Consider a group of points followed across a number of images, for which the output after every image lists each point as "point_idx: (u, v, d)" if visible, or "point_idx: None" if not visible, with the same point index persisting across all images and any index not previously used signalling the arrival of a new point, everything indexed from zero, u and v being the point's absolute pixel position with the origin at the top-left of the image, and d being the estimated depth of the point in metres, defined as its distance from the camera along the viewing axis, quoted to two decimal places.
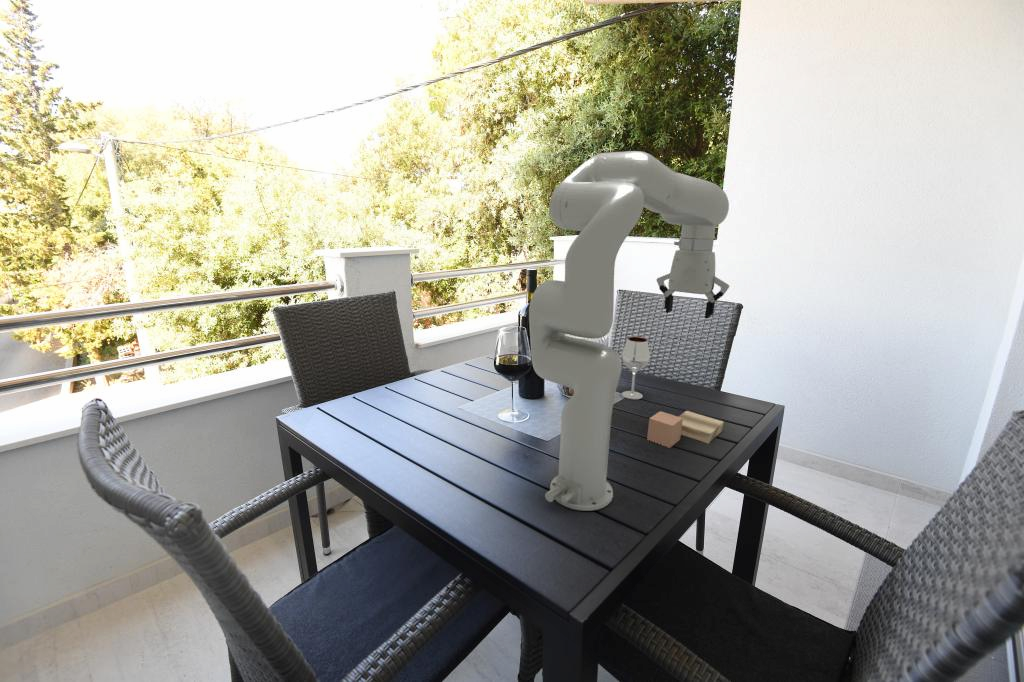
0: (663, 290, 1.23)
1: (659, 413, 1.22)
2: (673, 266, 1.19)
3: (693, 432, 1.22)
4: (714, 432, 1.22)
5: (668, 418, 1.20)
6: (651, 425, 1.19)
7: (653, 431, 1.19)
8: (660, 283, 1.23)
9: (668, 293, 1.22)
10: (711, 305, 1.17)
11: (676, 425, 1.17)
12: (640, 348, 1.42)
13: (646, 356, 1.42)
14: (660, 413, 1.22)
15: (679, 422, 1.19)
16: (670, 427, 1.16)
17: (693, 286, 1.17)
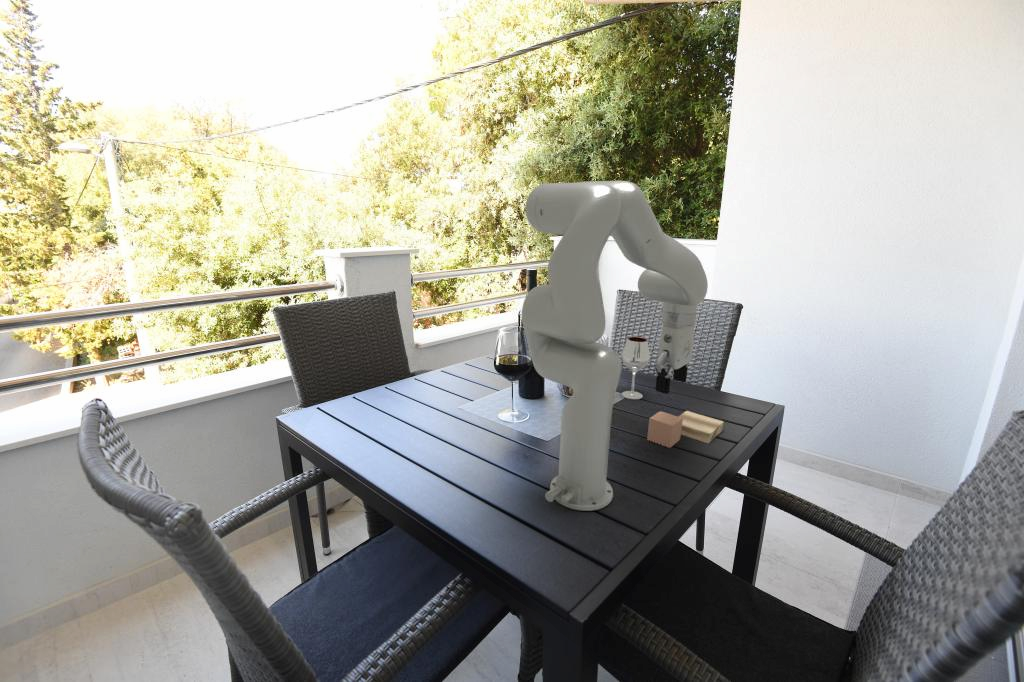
0: (664, 372, 1.11)
1: (659, 413, 1.22)
2: (679, 345, 1.10)
3: (693, 432, 1.22)
4: (714, 432, 1.22)
5: (668, 418, 1.20)
6: (651, 425, 1.19)
7: (653, 431, 1.19)
8: (662, 366, 1.10)
9: (669, 373, 1.12)
10: None
11: (676, 425, 1.17)
12: (640, 348, 1.42)
13: (646, 356, 1.42)
14: (660, 413, 1.22)
15: (679, 422, 1.19)
16: (670, 427, 1.16)
17: (687, 358, 1.15)
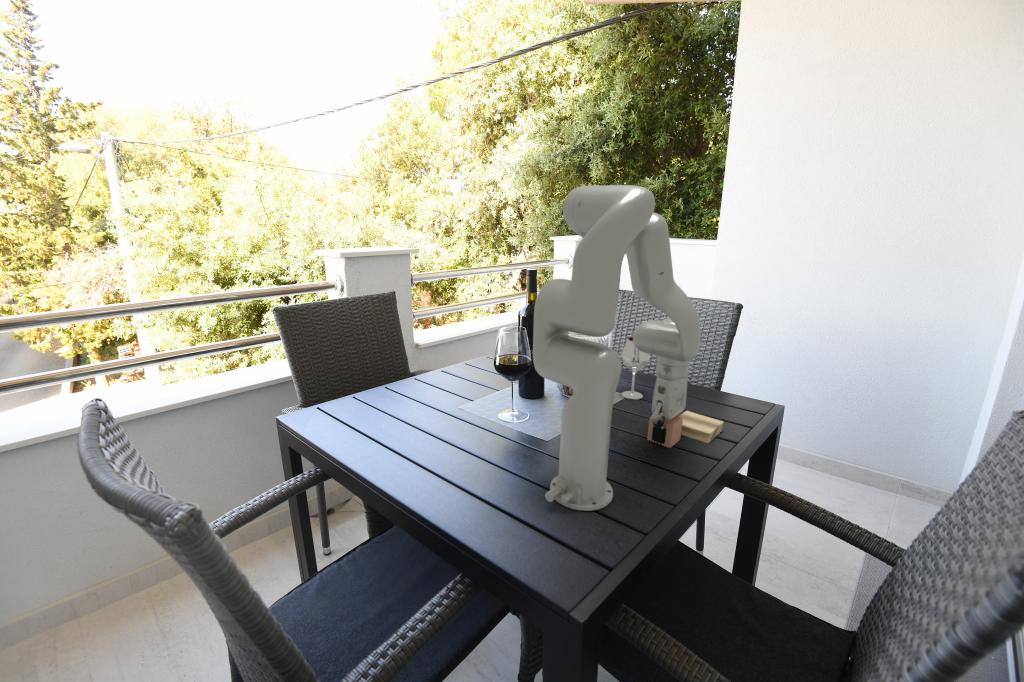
0: (660, 424, 1.15)
1: None
2: (672, 396, 1.13)
3: (693, 432, 1.22)
4: (714, 432, 1.22)
5: None
6: (651, 425, 1.19)
7: None
8: (657, 420, 1.14)
9: (664, 424, 1.16)
10: None
11: (676, 425, 1.17)
12: None
13: (646, 356, 1.42)
14: (660, 413, 1.22)
15: (680, 422, 1.19)
16: (670, 427, 1.16)
17: (680, 407, 1.18)
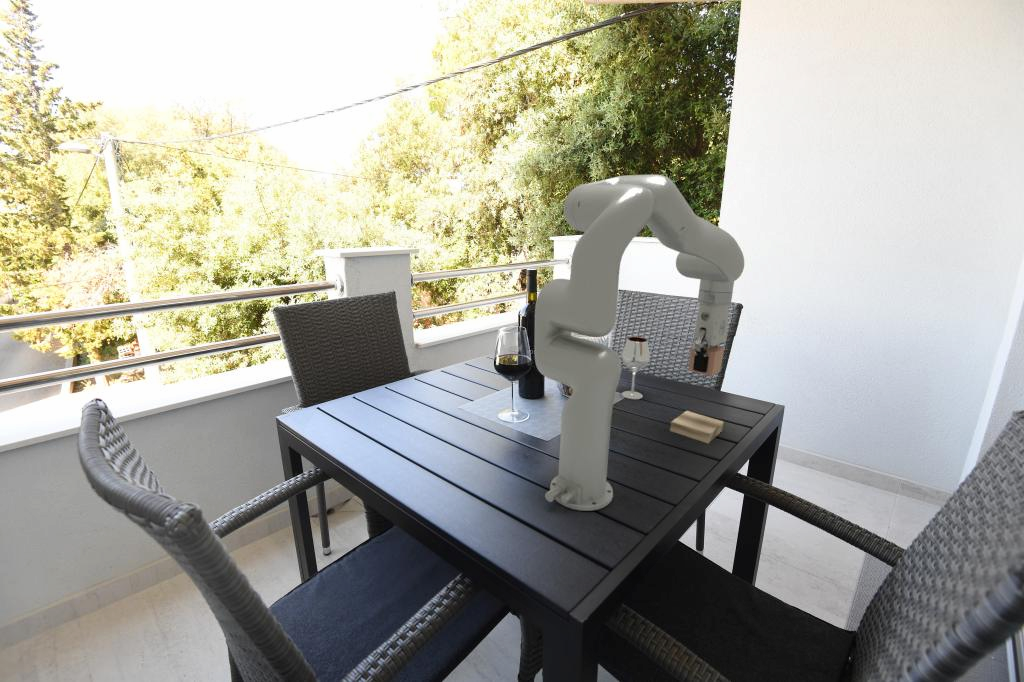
0: (703, 351, 1.16)
1: None
2: (716, 322, 1.14)
3: (692, 432, 1.22)
4: (714, 432, 1.22)
5: (710, 347, 1.21)
6: (693, 355, 1.20)
7: None
8: (701, 346, 1.15)
9: (707, 352, 1.17)
10: None
11: (718, 353, 1.18)
12: (640, 348, 1.42)
13: (646, 356, 1.42)
14: None
15: (721, 351, 1.20)
16: (713, 355, 1.17)
17: (722, 336, 1.19)
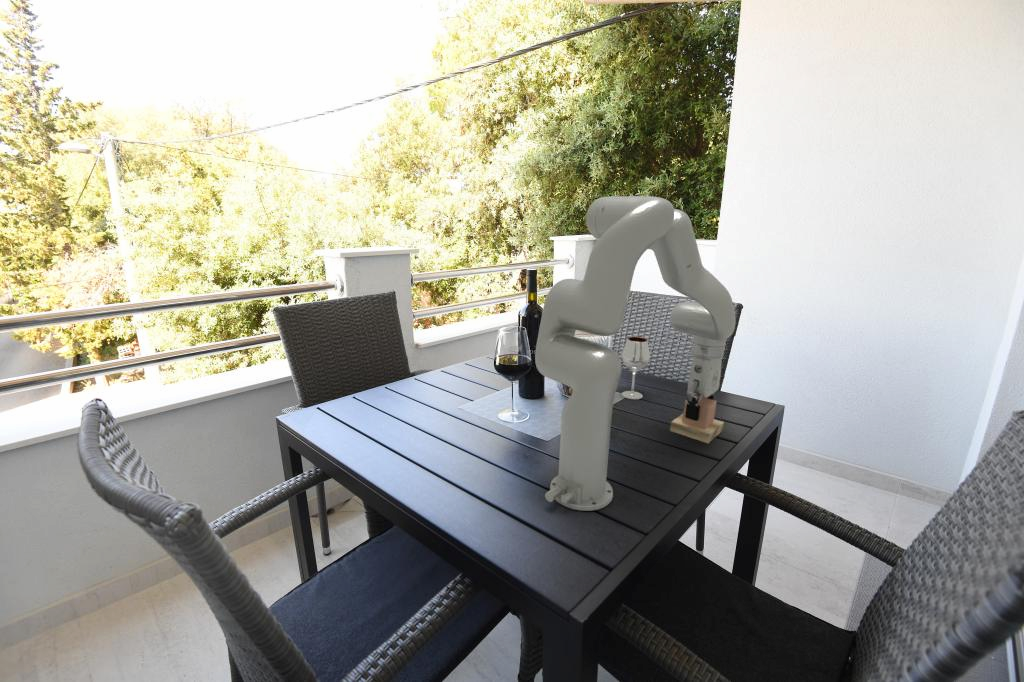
0: (695, 401, 1.19)
1: None
2: (708, 375, 1.17)
3: (692, 432, 1.22)
4: (714, 433, 1.22)
5: (703, 400, 1.24)
6: None
7: None
8: (693, 396, 1.18)
9: (699, 402, 1.20)
10: None
11: (711, 407, 1.22)
12: (640, 348, 1.42)
13: (646, 356, 1.42)
14: (694, 396, 1.27)
15: (714, 404, 1.23)
16: (706, 409, 1.21)
17: (715, 386, 1.22)
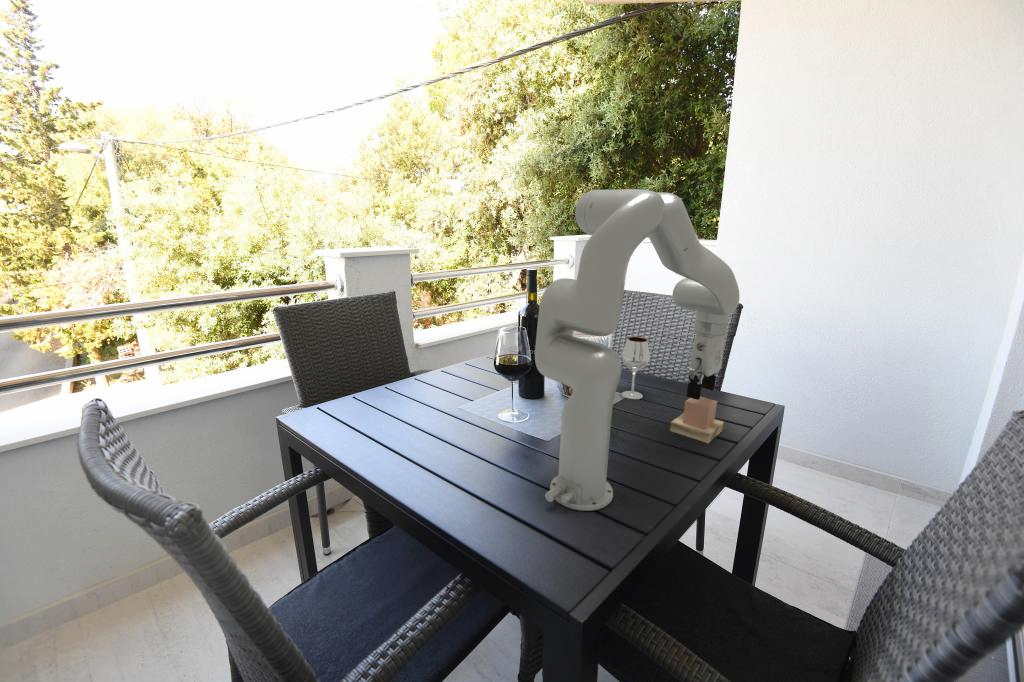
0: (696, 379, 1.17)
1: None
2: (711, 353, 1.16)
3: (692, 432, 1.22)
4: (714, 433, 1.22)
5: (703, 401, 1.24)
6: (687, 408, 1.24)
7: (689, 413, 1.24)
8: (695, 373, 1.16)
9: (701, 380, 1.18)
10: None
11: (711, 407, 1.22)
12: (640, 348, 1.42)
13: (646, 356, 1.42)
14: None
15: (714, 405, 1.23)
16: (706, 410, 1.20)
17: (717, 366, 1.21)
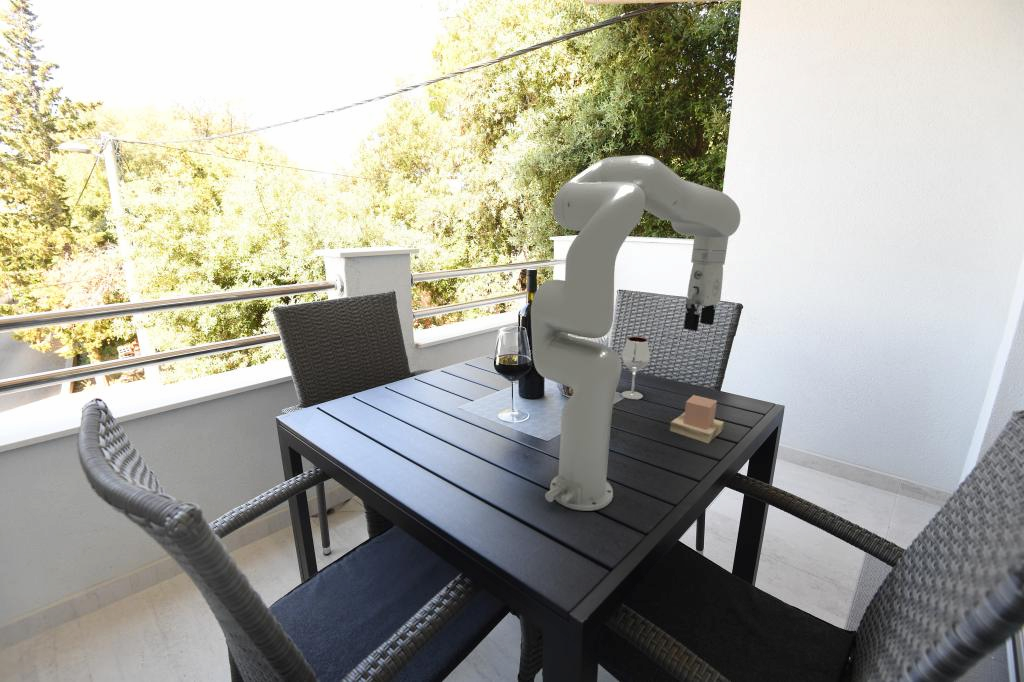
0: (694, 308, 1.14)
1: (693, 397, 1.27)
2: (709, 281, 1.12)
3: (692, 432, 1.22)
4: (714, 433, 1.22)
5: (703, 401, 1.24)
6: (688, 409, 1.24)
7: (690, 414, 1.23)
8: (692, 301, 1.12)
9: (698, 310, 1.14)
10: None
11: (712, 407, 1.22)
12: (640, 348, 1.42)
13: (646, 356, 1.42)
14: (694, 397, 1.27)
15: (714, 404, 1.23)
16: (708, 410, 1.20)
17: (716, 297, 1.17)
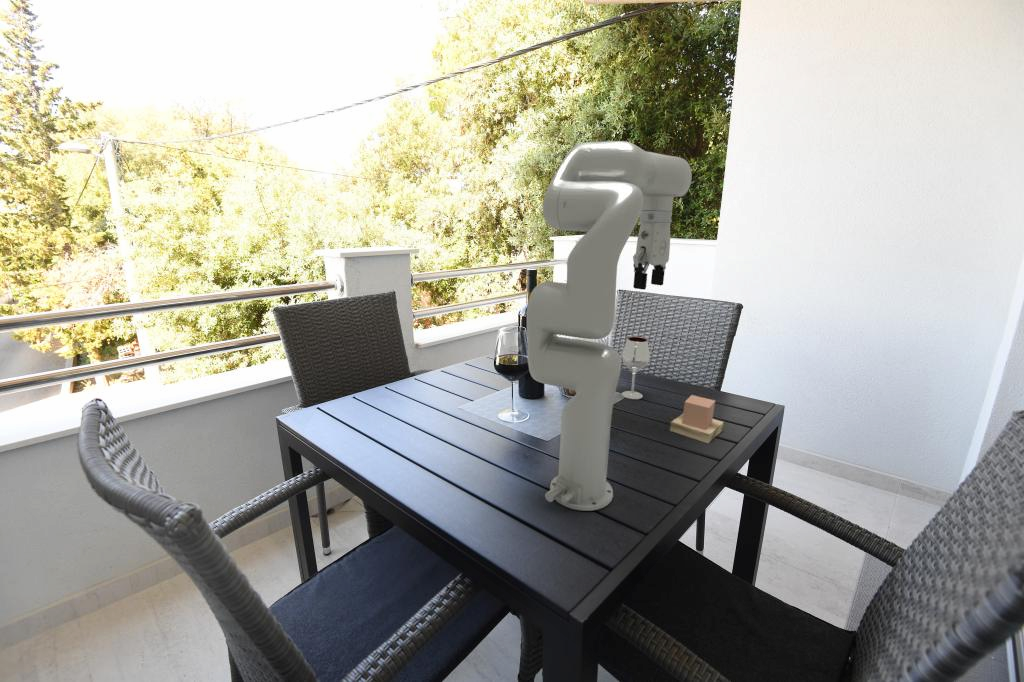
0: (641, 267, 1.18)
1: (692, 397, 1.27)
2: (655, 240, 1.17)
3: (692, 432, 1.22)
4: (714, 433, 1.22)
5: (702, 401, 1.24)
6: (686, 409, 1.23)
7: (688, 414, 1.23)
8: (639, 260, 1.17)
9: (646, 269, 1.19)
10: None
11: (711, 407, 1.22)
12: (640, 348, 1.42)
13: (646, 356, 1.42)
14: (692, 397, 1.27)
15: (713, 404, 1.24)
16: (706, 410, 1.20)
17: (664, 257, 1.22)
